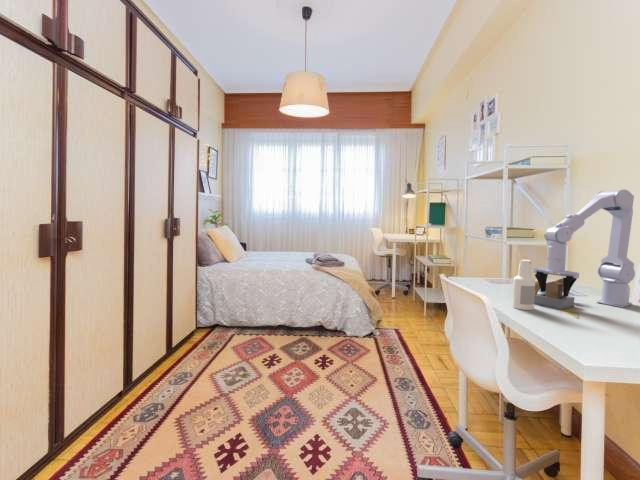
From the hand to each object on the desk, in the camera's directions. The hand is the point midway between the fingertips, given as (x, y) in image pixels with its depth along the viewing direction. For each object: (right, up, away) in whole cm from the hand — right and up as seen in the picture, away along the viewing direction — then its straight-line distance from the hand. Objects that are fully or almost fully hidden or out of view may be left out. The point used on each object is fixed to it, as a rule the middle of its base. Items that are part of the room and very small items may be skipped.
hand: (554, 293), depth 123 cm
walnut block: (0, -4, 0) cm, 4 cm away
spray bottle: (-14, -5, -3) cm, 15 cm away
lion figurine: (+5, -4, +11) cm, 13 cm away
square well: (0, -4, 0) cm, 4 cm away
